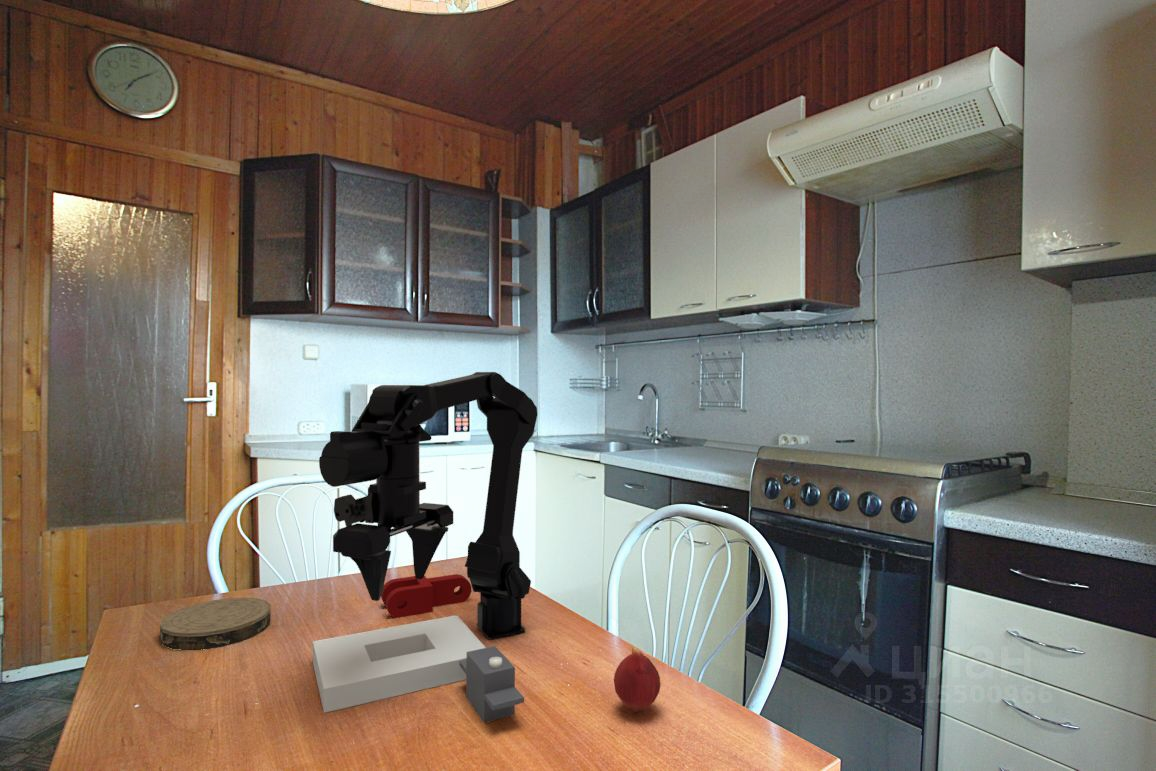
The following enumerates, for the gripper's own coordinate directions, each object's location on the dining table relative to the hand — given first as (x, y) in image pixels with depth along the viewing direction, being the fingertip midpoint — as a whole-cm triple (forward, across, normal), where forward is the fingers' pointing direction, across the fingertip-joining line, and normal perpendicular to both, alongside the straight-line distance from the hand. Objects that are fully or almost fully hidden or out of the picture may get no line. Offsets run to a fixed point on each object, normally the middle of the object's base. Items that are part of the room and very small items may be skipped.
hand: (398, 588), depth 83 cm
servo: (+13, 0, +14) cm, 20 cm away
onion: (+13, -6, +32) cm, 36 cm away
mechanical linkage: (+14, -26, -14) cm, 33 cm away
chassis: (+13, -4, -3) cm, 14 cm away
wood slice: (+14, -3, -40) cm, 42 cm away
